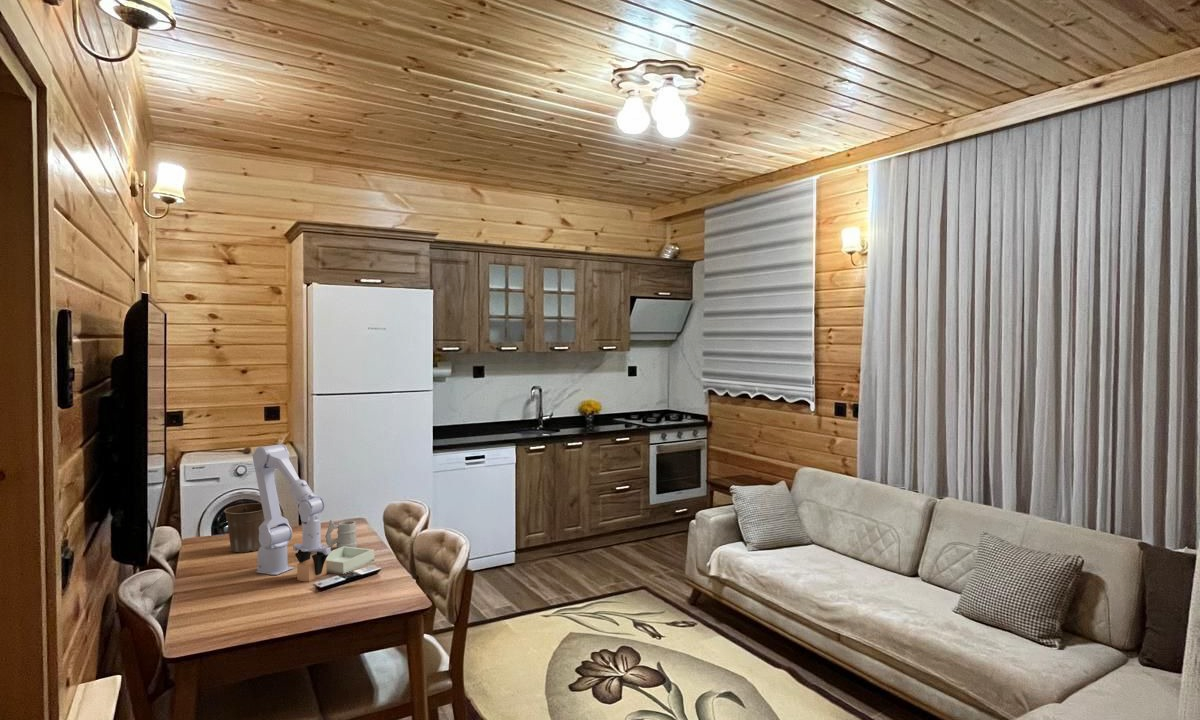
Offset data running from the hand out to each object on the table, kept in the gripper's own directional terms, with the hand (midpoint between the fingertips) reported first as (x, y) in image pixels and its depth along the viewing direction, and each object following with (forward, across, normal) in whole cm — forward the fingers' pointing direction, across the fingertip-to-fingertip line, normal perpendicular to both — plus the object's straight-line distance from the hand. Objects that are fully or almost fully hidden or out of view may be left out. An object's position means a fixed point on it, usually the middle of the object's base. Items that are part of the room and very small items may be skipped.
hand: (312, 573), depth 230 cm
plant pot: (+2, -49, +18) cm, 52 cm away
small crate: (+1, 0, 0) cm, 1 cm away
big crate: (+1, +1, +14) cm, 14 cm away
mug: (+2, -14, +30) cm, 33 cm away
